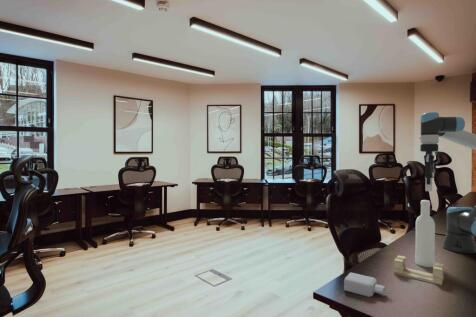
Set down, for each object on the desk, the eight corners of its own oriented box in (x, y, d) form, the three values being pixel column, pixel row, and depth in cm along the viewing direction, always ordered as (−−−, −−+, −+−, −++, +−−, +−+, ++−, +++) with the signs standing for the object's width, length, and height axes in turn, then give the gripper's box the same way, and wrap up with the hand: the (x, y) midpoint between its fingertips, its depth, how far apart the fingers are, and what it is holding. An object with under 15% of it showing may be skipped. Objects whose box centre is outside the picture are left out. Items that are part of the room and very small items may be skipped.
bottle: (438, 268, 135) (438, 202, 135) (418, 266, 137) (419, 201, 136) (430, 261, 143) (431, 199, 142) (412, 260, 144) (413, 199, 144)
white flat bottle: (387, 303, 103) (343, 291, 112) (392, 293, 111) (351, 283, 120) (387, 289, 103) (344, 279, 112) (392, 280, 110) (351, 271, 119)
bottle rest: (398, 268, 134) (398, 255, 134) (443, 278, 123) (443, 264, 123) (394, 273, 128) (394, 260, 128) (441, 285, 117) (441, 269, 117)
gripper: (422, 144, 156) (421, 189, 156) (418, 143, 146) (417, 191, 146) (439, 144, 151) (439, 190, 151) (436, 143, 141) (436, 192, 141)
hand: (428, 190), depth 149 cm, fingers closed
